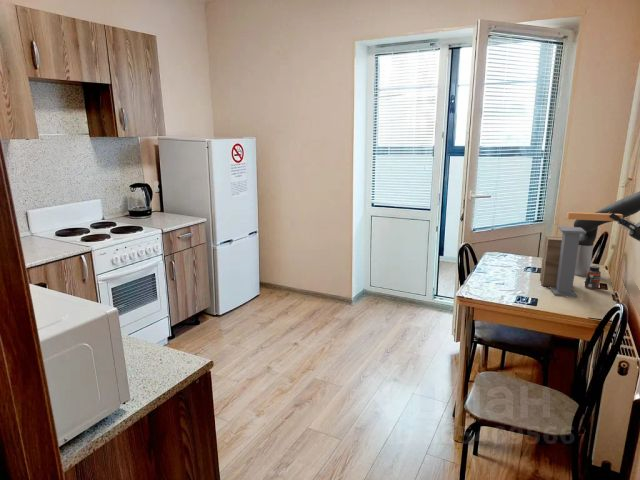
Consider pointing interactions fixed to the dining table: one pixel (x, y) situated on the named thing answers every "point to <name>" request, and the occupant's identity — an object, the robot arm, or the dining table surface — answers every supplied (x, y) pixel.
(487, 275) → the dining table surface
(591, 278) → the supplement bottle
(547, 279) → the tan upright box
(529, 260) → the dining table surface
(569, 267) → the tall stand
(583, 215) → the block
